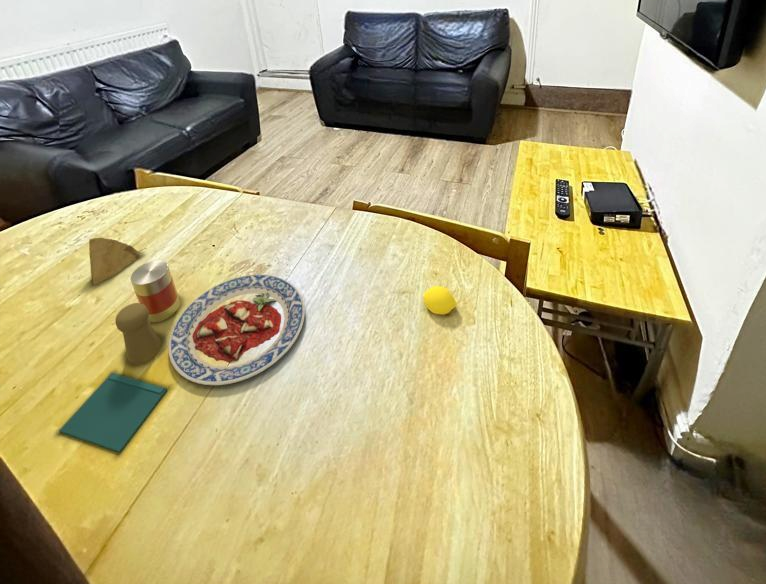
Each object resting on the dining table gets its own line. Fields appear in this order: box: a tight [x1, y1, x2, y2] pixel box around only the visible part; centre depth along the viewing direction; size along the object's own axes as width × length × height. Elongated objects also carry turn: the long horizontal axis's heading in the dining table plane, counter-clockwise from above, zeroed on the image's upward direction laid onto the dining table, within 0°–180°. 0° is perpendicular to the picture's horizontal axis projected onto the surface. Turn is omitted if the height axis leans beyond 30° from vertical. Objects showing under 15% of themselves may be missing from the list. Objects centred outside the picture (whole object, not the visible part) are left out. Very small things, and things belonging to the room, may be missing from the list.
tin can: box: [130, 259, 181, 323], centre depth 86 cm, size 7×7×11 cm
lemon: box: [422, 285, 458, 316], centre depth 85 cm, size 7×5×5 cm
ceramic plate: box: [167, 274, 306, 386], centre depth 82 cm, size 26×26×3 cm
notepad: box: [58, 372, 168, 454], centre depth 68 cm, size 12×10×1 cm
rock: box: [88, 237, 142, 285], centre depth 99 cm, size 11×9×10 cm
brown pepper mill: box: [114, 302, 163, 365], centre depth 77 cm, size 6×6×11 cm
